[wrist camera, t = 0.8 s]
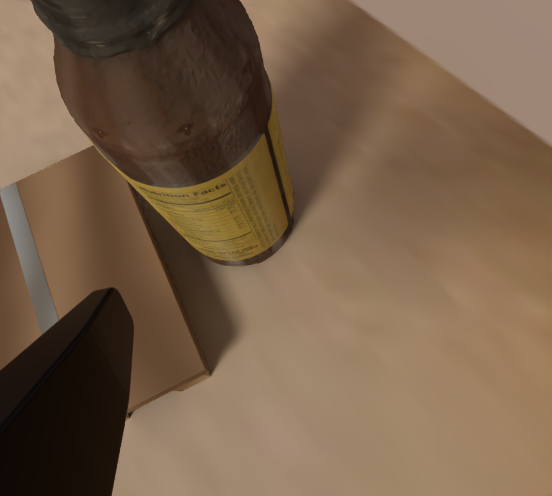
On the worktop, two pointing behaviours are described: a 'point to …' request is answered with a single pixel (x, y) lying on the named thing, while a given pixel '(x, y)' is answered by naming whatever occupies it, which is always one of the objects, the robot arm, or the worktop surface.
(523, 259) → the worktop surface
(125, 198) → the wooden pallet
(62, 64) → the sauce bottle
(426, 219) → the worktop surface
